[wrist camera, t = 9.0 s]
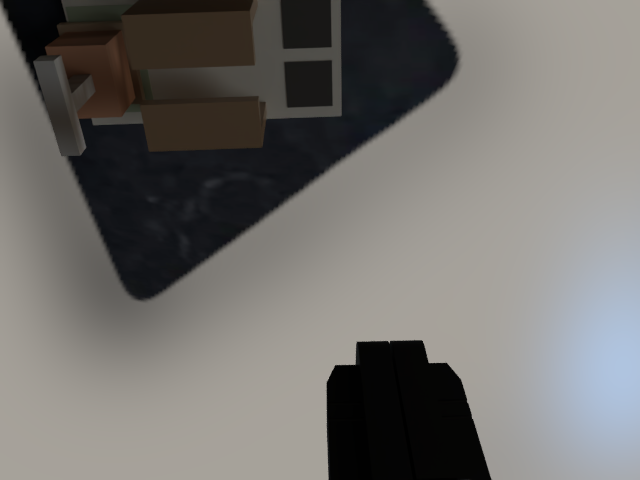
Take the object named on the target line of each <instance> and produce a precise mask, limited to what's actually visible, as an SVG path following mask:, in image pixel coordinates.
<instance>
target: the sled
mask: <svg viewBox="0 0 640 480" xmlns="http://www.w3.org/2000/svg"><path fill="white" fill-rule="evenodd" d="M57 28H58V32H59V36H60V37H58V38H57V39H55V40H54V41H53V42H51V43H50V44H48V45H47V46H46V47H45V49H46V53H47V55H44V56H40V57H38V58H37V59H36V60H34V61H33V63H34V66H35V69H36V73H37V76H38V79H39V83H40V86H41V89H42V93H43V96H44V99H45V103H46V106H47V109H48V113H49V116H50V120H51V123H52V126H53V130H54V133H55V136H56V140H57V143H58V146H59V150H60V153H61V156H77V155H81V154H82V152H83V151H84V150H85V148H86V145H85V141H84V138H83V134H82V130H81V127H80V123H79V119H81V118H108V117H122V116H123V115H124V113H125V112H126V110H127V109H128V108H129V106H130V105H131V104H141V102H142V101H143V100H146V99H145V94H144V89H143V84H142V79H141V74H140V70H132V66H131V61H130V57H129V52H128V47H127V42H126V37H125V32H124V28H123V23H122V20H120V21H91V22H63V23H59V24H58V25H57Z"/></svg>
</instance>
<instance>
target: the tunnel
mask: <svg viewBox="0 0 640 480" xmlns="http://www.w3.org/2000/svg"><path fill="white" fill-rule="evenodd" d="M61 1H62V5H63V9H64V13H65V17H66V21H67V22H91V21H120V20H122V23H123V28H124V32H125V37H126V42H127V47H128V52H129V57H130V61H131V66H132V70H140V74H141V79H142V84H143V89H144V94H145V99H146V100H143V101H142V102H141V104H131V105H130V106H129V108H128V109H127V110H126V112H125V113H124V115H123V116H122V117H108V118H92V122H93V125H110V124H137V123H143V124H144V129H145V134H146V139H147V144H148V149H149V152H152V151H179V150H206V149H233V148H261V147H262V145H263V137H264V130H265V123H266V119H274V118H302V117H329V116H341V0H61Z"/></svg>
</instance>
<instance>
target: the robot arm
mask: <svg viewBox="0 0 640 480" xmlns="http://www.w3.org/2000/svg"><path fill="white" fill-rule="evenodd" d="M327 442H328V472H329V480H491V477H490V474H489V471H488V467H487V464H486V461H485V457H484V454H483V451H482V447H481V444H480V441H479V438H478V434H477V431H476V428H475V424H474V421H473V419H472V414H471V411H470V408H469V404H468V403H467V398H466V395H465V391H464V388H463V385H462V382H461V379H460V378H459V377H458V376H457V374H456V373H455V372H454V371H453V370H452V369H451V367H450V366H449V365H448V364H447V363H428V358H427V354H426V351H425V346H424V343H423V341H422V340H414V341H390V344H389V342H388V341H371V342H357V344H356V365H335V367H334V369H333V371H332V373H331V375H330V377H329V379H328V381H327Z"/></svg>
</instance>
